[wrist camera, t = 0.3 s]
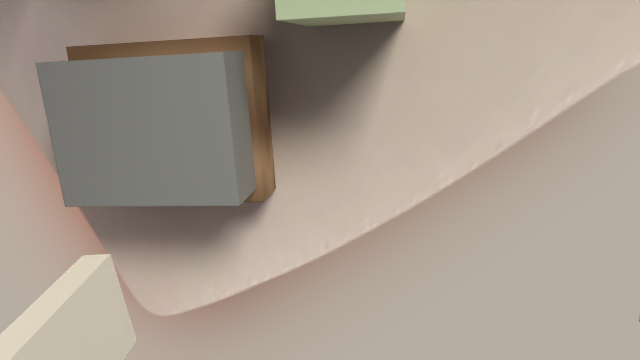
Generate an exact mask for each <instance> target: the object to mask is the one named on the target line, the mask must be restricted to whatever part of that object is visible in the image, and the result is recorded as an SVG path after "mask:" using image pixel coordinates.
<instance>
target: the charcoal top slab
mask: <svg viewBox="0 0 640 360" xmlns="http://www.w3.org/2000/svg"><path fill="white" fill-rule="evenodd" d="M36 67H37V72H38V77H39V82H40V87H41V92H42V97H43V101H44V106H45V111H46V116H47V121H48V126H49V131H50V136H51V140H52V145H53V150H54V155H55V160H56V165H57V170H58V174H59V179H60V184H61V189H62V193H63V199H64V203H65V207H67V206H68V207H70V206H71V207H72V206H73V207H74V206H75V207H76V206H77V207H83V206H240V205H241V204H242V203H243V202H244V201H245V200H246V199H247V198H248V197H249V196H250V195H251V193H252V192H253V191H254V190H255V189H256V181H255V170H254V160H253V150H252V139H251V129H250V118H249V108H248V98H247V87H246V77H245V66H244V56H243V51H227V52H210V53H193V54H177V55H160V56H143V57H127V58H110V59H94V60H77V61H60V62H44V63H36Z"/></svg>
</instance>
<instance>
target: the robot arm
mask: <svg viewBox="0 0 640 360" xmlns="http://www.w3.org/2000/svg"><path fill="white" fill-rule="evenodd" d="M639 322H640V317H639ZM135 342H136V337H135V334H134V330H133V327H132V324H131V321H130V317H129V314H128V310H127V308H126V304H125V301H124V298H123V294H122V291H121V287H120V284H119V281H118V278H117V274H116V271H115V268H114V264H113V261H112V258H111V254H101V255H85V256H82V257H81V258H80V259H79V260H78V261H77V262H75V263H74V264H73V265H72V266H71V267H70V268H69V269H68V270H67V271H66V272H65V273H64V274H63V275H62V276H61V277H60V278H59V279H58V280H57V281H56V282H55V283H54V284H53V285H52V286H50V287H49V288H48V289H47V290H46V291H45V292H44V293H43V294H42V295H41V296H40V297H39V298H38V299H37V300H36V301H35V302H34V303H33V304H32V305H31V306H29V307H28V308H27V309H26V310H25V311H24V312H23V313H22V314H21V315H20V316H19V317H18V318H17V319H16V320H15V321H14V322H13V323H12V324H11V325H10V326H9V327H8V328H6V329H5V330H4V331H3V332H2V333H1V334H0V360H124V359H125V358H126V356H127V354H128V353H129V351H130V350H131V348H132V347H133V345H134V343H135Z"/></svg>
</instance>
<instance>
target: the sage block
mask: <svg viewBox="0 0 640 360" xmlns="http://www.w3.org/2000/svg"><path fill="white" fill-rule="evenodd" d="M275 11H276V20H278V21H283V22H288V23H293V24H298V25H304V26H325V25H341V24H357V23H373V22H389V21H404V20H405V13H406V0H275Z"/></svg>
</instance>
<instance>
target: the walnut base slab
mask: <svg viewBox="0 0 640 360" xmlns="http://www.w3.org/2000/svg"><path fill="white" fill-rule="evenodd" d="M66 49H67V55H68V60H69V61H77V60H94V59H110V58H127V57H143V56H160V55H177V54H193V53H210V52H227V51H243V56H244V66H245V77H246V87H247V98H248V108H249V118H250V129H251V139H252V150H253V160H254V170H255V181H256V189H255V190H254V191H253V192H252V193H251V195H250V196H249V197H248V198H247V199H246V200H245V201H244V202H264V201H265V200H266V199H267V198H268V196H269V195H270V194H271V193H272V192H273V191H274V190H275V188H276V185H275V173H274V161H273V149H272V136H271V124H270V112H269V100H268V88H267V76H266V64H265V51H264V39H263V36H254V35H245V36H230V37H214V38H198V39H183V40H167V41H151V42H136V43H120V44H105V45H89V46H73V47H66Z"/></svg>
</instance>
